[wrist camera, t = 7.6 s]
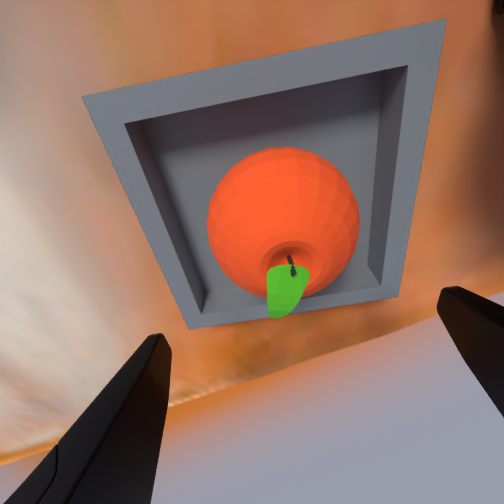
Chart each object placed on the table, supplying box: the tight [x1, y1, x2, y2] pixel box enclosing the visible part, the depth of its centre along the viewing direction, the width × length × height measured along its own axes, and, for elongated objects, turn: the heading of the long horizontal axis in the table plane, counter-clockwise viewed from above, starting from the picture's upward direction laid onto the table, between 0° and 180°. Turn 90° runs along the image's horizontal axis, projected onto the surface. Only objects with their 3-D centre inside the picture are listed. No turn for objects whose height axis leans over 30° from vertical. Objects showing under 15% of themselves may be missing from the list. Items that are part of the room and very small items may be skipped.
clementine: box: [207, 147, 360, 318], centre depth 13 cm, size 8×7×7 cm
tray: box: [82, 18, 447, 330], centre depth 15 cm, size 14×14×3 cm
